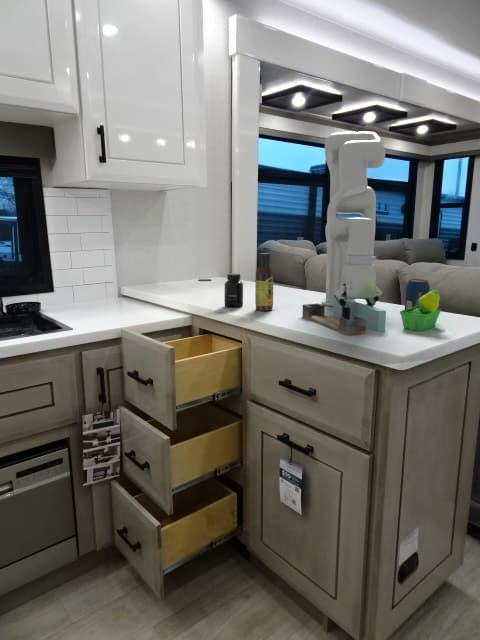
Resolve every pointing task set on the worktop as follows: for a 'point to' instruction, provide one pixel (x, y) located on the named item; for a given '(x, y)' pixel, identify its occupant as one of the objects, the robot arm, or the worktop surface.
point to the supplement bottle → (233, 291)
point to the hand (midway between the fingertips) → (357, 318)
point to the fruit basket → (422, 313)
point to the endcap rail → (343, 325)
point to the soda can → (415, 292)
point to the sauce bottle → (264, 284)
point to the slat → (364, 314)
